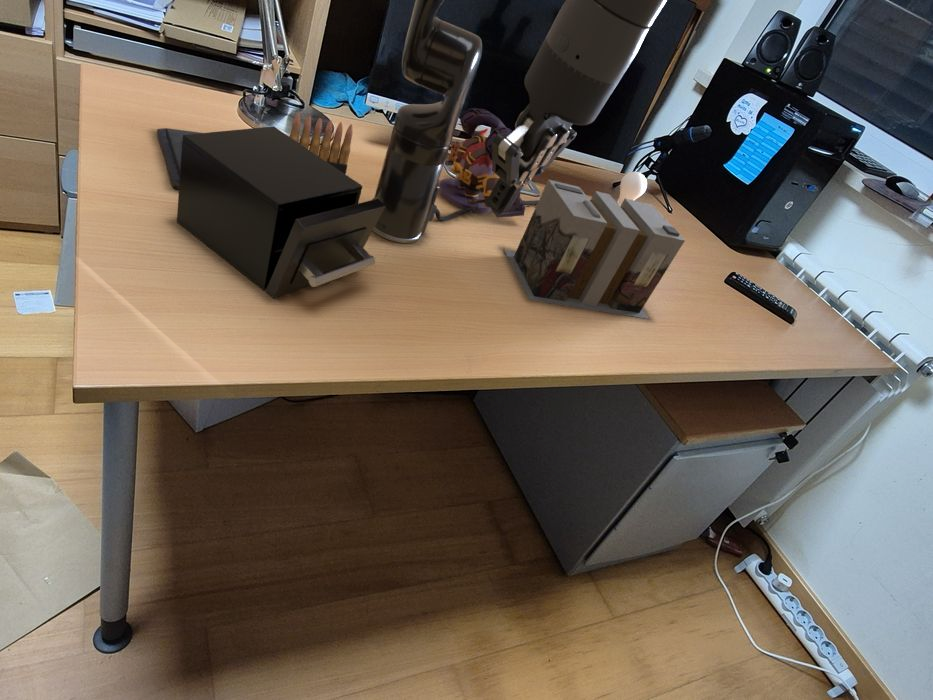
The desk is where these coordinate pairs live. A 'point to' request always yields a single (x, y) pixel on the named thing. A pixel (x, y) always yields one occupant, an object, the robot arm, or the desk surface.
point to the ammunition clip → (324, 141)
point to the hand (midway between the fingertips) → (496, 207)
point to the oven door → (325, 247)
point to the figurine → (475, 166)
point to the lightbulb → (632, 186)
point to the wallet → (172, 151)
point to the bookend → (593, 251)
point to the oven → (254, 194)
